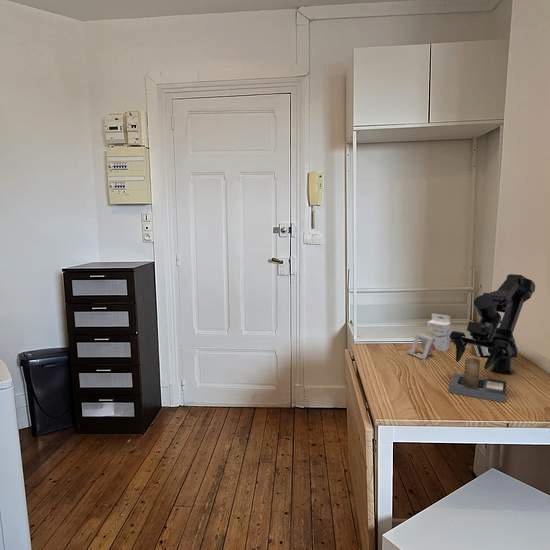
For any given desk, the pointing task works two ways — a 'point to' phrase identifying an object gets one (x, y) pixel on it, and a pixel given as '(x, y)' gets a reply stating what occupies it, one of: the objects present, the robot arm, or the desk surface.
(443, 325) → the ink cartridge box
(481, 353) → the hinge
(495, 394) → the hole plate
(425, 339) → the portable electronic device stand
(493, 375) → the desk surface
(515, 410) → the desk surface
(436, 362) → the desk surface
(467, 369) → the walnut peg
